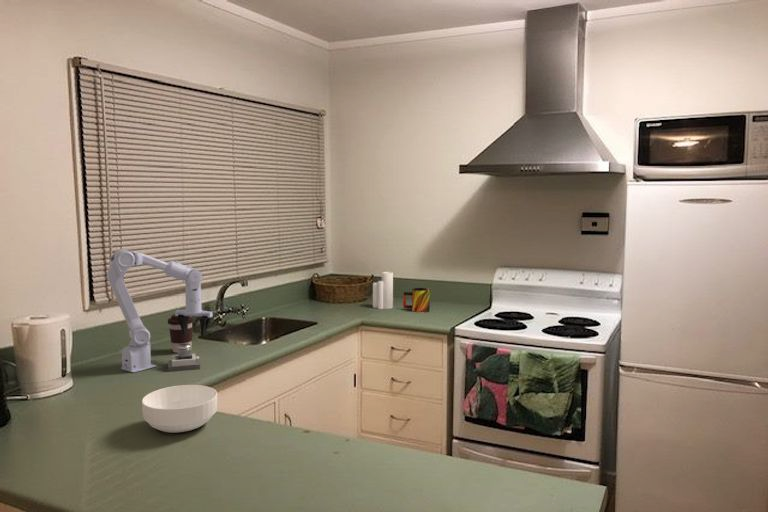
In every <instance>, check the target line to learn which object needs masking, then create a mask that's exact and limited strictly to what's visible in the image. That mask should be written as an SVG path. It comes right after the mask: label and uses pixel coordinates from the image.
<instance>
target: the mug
mask: <svg viewBox="0 0 768 512" xmlns="http://www.w3.org/2000/svg"><path fill="white" fill-rule="evenodd" d="M407 296H411V299H412V301H411V305H409V304H406V302H407V298H406V297H407ZM430 299H431V289H430V288H428V287H427V288H425V287H414V288H412V290H411V292H410V291H409V292H408V291H404V292H403V301H402V302H403V304H402V305H403V306H402V307H403V308H404V309H411V311H412V312H413V311H414V312H413V313H419V312H424V313H429V312H430V310H431V309H430V307H431V305H430V303H431V301H430Z"/></svg>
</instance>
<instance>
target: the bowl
mask: <svg viewBox="0 0 768 512" xmlns="http://www.w3.org/2000/svg"><path fill="white" fill-rule="evenodd" d="M141 409H142V417H143V420H144V421H145V422H147V423H148V425H149V426H150V427H151V428H154V429H156V430H159V431H161V432H164V433H185V432H189V431H192V430H195V429H196V430H197V429H198V428H200V427H201V426H203V425H205V424H206V423H207V422H209V421H210V420H211V419H212V417H213V415H214V414H216V413H217V411H218V391H217V390H216V389H215V388H213V387H210V386H207V385H201V384H183V385H172V386H168V387H163V388H160V389H157V390H153V391H151V392H149V393H148V394H146V395H144V396H143V398H142V400H141Z"/></svg>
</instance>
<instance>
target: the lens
mask: <svg viewBox="0 0 768 512" xmlns="http://www.w3.org/2000/svg"><path fill="white" fill-rule="evenodd" d="M191 351H192V347H191V345H190V344H179V345H178V353H177V355H178V360H182V359H191V354H192V352H191Z"/></svg>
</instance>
